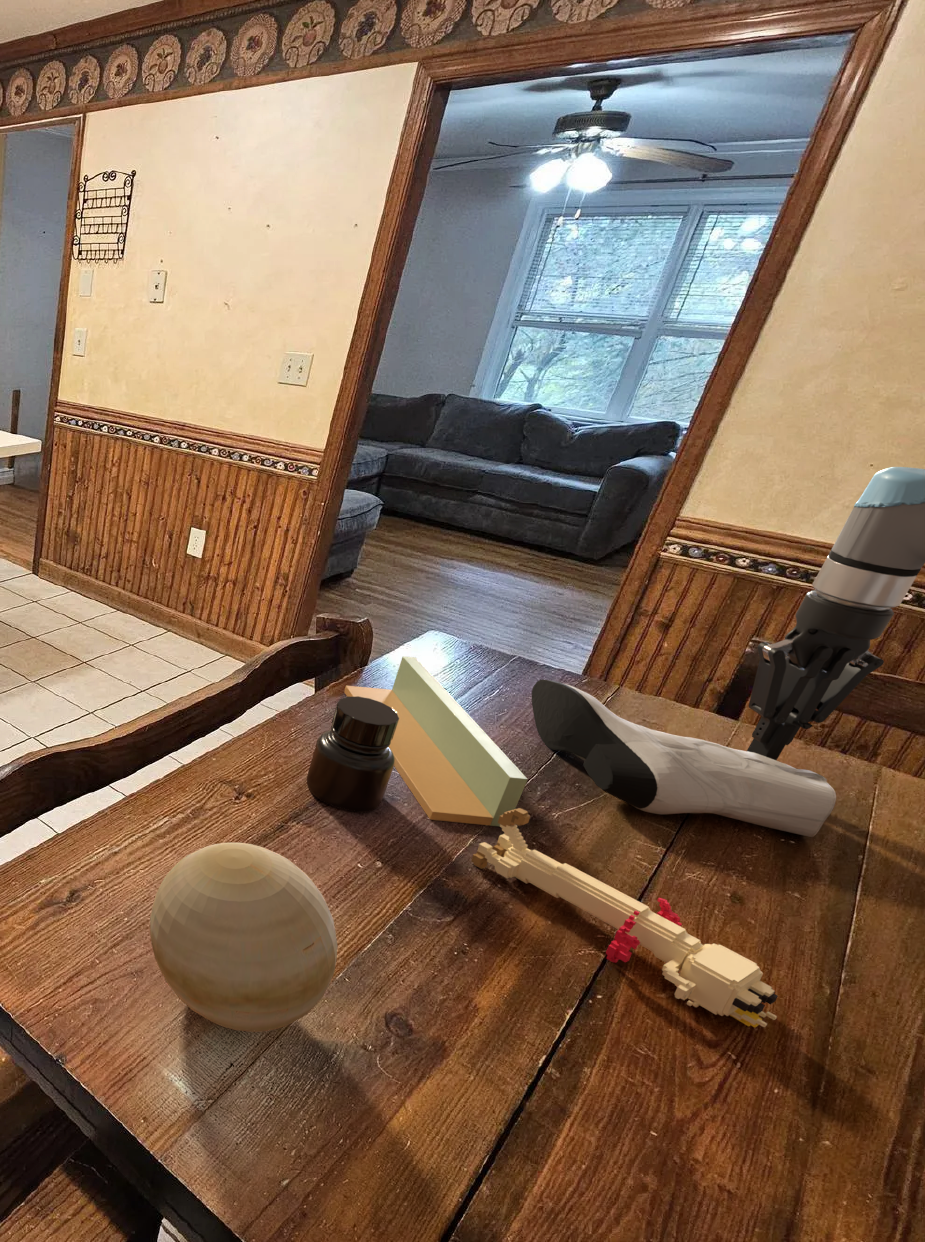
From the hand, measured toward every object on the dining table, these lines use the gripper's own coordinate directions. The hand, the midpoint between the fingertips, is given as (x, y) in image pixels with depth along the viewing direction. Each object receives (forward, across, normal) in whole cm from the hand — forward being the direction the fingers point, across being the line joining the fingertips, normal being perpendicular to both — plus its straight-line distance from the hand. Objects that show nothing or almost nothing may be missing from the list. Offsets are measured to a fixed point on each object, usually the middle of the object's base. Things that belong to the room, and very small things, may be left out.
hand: (757, 762), depth 105 cm
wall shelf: (+3, +43, 0) cm, 43 cm away
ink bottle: (+3, +57, +12) cm, 58 cm away
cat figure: (+3, +38, +33) cm, 50 cm away
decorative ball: (+3, +78, +47) cm, 91 cm away
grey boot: (+3, +12, 0) cm, 12 cm away
